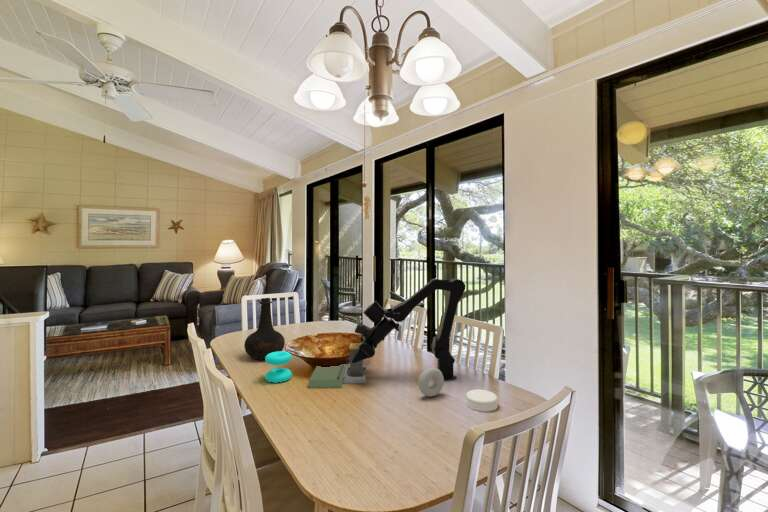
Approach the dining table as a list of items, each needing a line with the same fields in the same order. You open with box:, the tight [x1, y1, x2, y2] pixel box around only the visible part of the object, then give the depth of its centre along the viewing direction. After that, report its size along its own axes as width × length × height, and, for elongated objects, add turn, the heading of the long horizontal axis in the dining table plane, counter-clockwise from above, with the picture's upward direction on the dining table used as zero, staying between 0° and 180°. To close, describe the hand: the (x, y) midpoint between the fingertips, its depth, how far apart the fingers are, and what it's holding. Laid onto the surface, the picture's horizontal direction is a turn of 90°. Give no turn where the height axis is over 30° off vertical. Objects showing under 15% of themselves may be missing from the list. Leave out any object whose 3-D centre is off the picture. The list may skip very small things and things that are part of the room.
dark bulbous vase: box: [244, 297, 286, 360], centre depth 170 cm, size 18×18×28 cm
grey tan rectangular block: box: [348, 342, 364, 376], centre depth 143 cm, size 5×5×13 cm
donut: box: [418, 366, 445, 398], centre depth 125 cm, size 10×4×10 cm, turn 118°
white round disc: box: [465, 389, 499, 413], centre depth 118 cm, size 10×10×4 cm
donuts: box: [264, 350, 293, 384], centre depth 142 cm, size 10×10×10 cm
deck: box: [308, 363, 368, 389], centre depth 143 cm, size 20×20×4 cm
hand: (353, 358), depth 143 cm, fingers open, 9 cm apart
